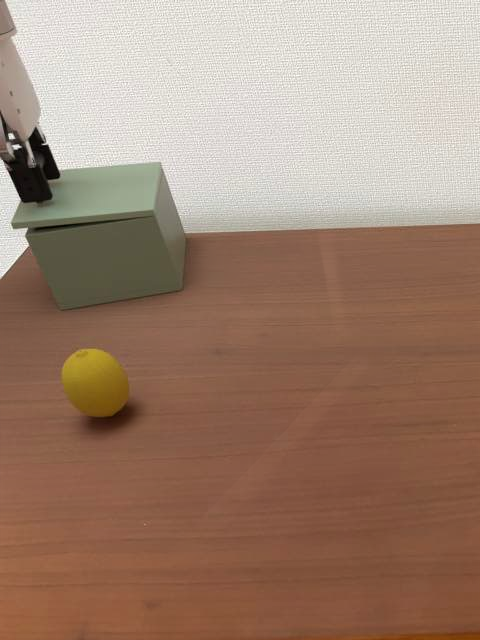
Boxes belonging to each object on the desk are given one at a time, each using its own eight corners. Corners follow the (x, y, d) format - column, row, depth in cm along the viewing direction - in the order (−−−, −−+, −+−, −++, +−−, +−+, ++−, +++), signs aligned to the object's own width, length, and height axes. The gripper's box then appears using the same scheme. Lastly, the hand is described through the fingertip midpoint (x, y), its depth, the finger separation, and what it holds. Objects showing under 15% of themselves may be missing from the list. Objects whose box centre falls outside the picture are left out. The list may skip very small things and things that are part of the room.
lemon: (69, 426, 81) (34, 361, 76) (110, 392, 85) (80, 329, 80) (112, 439, 79) (79, 374, 74) (152, 404, 83) (124, 340, 78)
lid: (13, 229, 90) (-5, 186, 87) (35, 178, 100) (19, 138, 97) (155, 215, 93) (143, 174, 90) (162, 167, 104) (151, 128, 100)
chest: (60, 310, 97) (24, 235, 91) (76, 254, 107) (45, 184, 101) (182, 290, 100) (155, 216, 94) (186, 238, 110) (162, 167, 104)
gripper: (-50, 4, 89) (20, 165, 100) (-96, 49, 76) (-9, 227, 88) (26, -2, 90) (86, 157, 102) (-7, 41, 78) (67, 217, 89)
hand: (41, 188), depth 95 cm, fingers closed on lid, 5 cm apart
